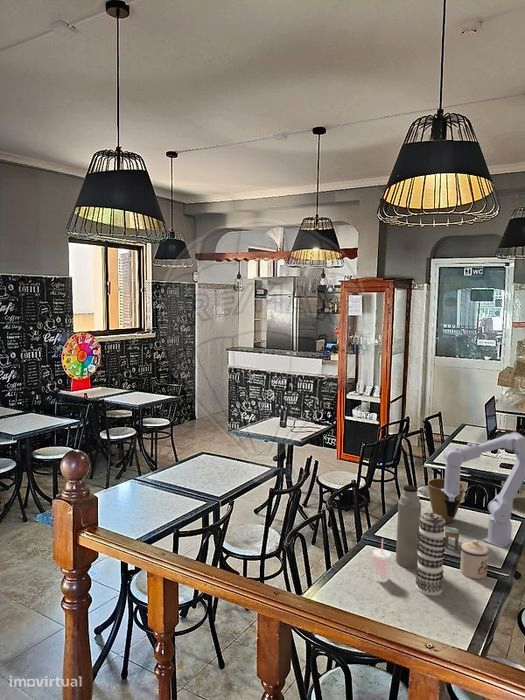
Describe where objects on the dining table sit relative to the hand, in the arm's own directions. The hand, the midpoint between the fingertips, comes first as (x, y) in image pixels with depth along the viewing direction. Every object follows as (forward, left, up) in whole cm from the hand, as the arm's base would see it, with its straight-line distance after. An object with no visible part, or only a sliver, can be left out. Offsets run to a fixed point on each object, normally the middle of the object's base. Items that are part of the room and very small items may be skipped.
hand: (450, 512), depth 214 cm
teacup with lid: (+18, +20, -11) cm, 29 cm away
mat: (+7, +5, -10) cm, 14 cm away
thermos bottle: (+31, +1, -11) cm, 33 cm away
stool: (+7, +5, -10) cm, 13 cm away
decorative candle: (+41, +16, -11) cm, 45 cm away
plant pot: (-15, -11, -11) cm, 21 cm away
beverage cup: (+48, +2, -11) cm, 49 cm away
